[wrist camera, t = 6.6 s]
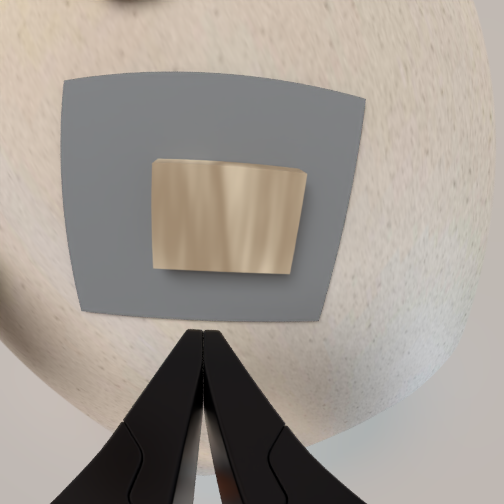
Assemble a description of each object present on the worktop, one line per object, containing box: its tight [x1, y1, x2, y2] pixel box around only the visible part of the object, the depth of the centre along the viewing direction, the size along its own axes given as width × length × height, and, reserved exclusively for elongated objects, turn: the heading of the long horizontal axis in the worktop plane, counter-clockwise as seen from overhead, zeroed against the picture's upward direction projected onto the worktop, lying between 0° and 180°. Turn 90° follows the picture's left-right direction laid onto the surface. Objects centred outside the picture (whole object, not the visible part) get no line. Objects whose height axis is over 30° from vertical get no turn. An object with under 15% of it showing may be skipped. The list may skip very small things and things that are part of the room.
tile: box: [151, 159, 307, 274], centre depth 16 cm, size 2×6×8 cm
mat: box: [61, 72, 366, 322], centre depth 17 cm, size 18×16×1 cm
